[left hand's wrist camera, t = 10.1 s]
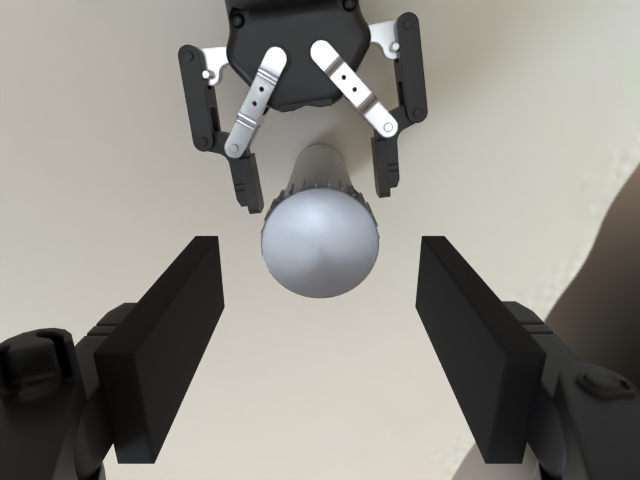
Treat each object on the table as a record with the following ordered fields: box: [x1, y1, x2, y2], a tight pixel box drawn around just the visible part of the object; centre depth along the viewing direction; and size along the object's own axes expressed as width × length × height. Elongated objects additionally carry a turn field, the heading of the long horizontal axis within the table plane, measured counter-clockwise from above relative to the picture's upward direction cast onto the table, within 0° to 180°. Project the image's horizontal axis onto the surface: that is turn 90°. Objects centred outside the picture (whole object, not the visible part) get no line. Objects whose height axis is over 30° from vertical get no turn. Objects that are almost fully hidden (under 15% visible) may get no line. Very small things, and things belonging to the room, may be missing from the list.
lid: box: [261, 175, 379, 298], centre depth 17 cm, size 5×5×2 cm
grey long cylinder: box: [287, 144, 352, 187], centre depth 25 cm, size 4×4×17 cm
